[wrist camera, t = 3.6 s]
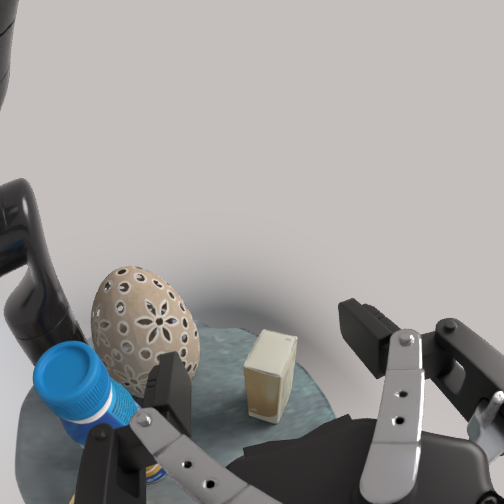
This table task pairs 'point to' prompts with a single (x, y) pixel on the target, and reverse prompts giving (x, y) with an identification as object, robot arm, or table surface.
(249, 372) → the cosmetic box
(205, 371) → the table surface
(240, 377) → the table surface
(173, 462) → the robot arm
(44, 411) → the table surface
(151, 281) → the ornament
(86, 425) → the beverage bottle
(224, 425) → the table surface
